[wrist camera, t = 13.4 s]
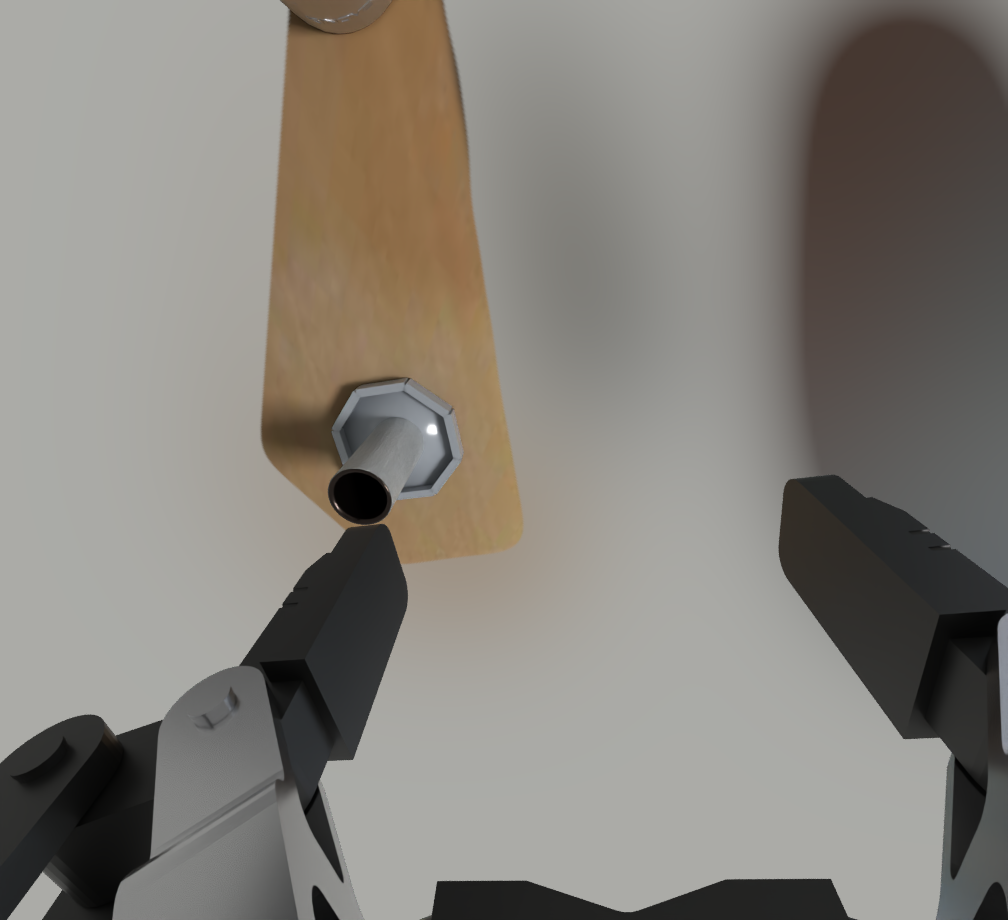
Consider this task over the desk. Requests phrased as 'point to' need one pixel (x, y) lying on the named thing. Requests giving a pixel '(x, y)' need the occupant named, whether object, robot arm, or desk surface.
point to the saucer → (419, 408)
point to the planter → (376, 472)
